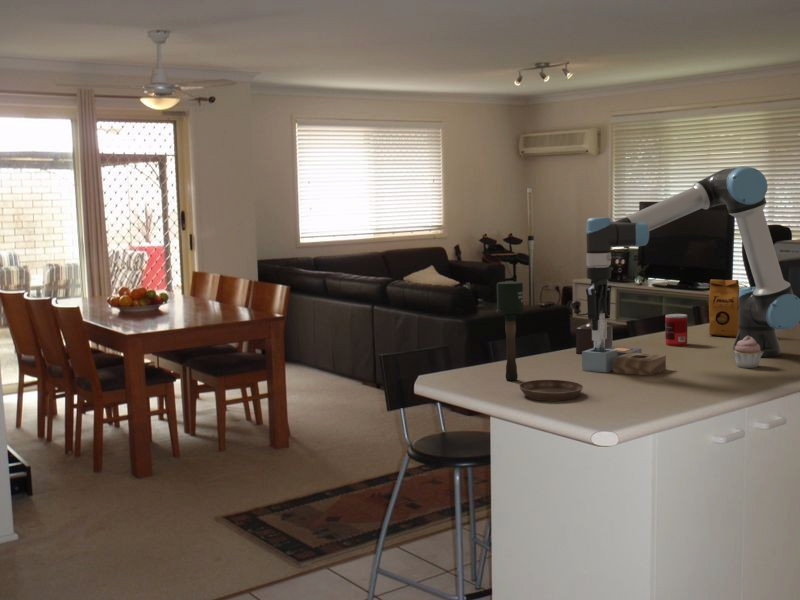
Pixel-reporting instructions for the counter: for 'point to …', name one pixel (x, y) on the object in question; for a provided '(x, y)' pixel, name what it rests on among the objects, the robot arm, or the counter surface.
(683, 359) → the counter surface
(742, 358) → the cupcake
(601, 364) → the blue square collar
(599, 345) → the peg
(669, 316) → the canned food
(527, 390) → the plant saucer
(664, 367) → the socket block
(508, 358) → the potato masher grenade
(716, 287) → the coffee package
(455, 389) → the counter surface
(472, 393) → the counter surface
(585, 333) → the manual coffee grinder
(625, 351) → the orange square block
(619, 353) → the housing
